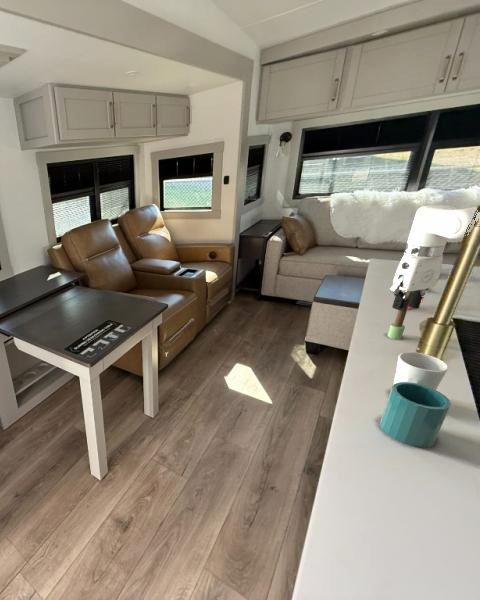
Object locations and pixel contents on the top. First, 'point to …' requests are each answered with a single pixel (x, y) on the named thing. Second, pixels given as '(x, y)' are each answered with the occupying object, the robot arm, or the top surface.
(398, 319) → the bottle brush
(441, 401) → the tumbler
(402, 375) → the cup
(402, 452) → the top surface
